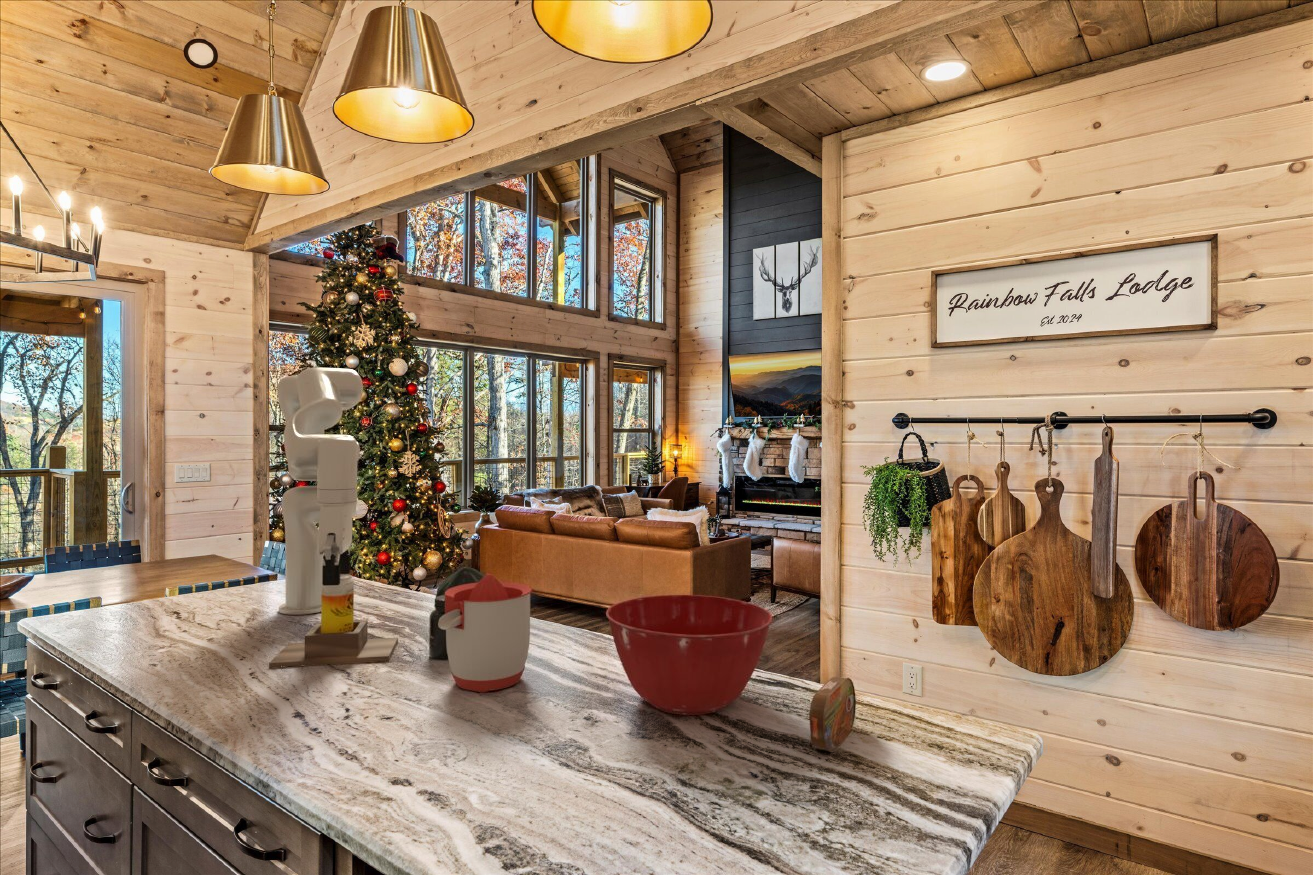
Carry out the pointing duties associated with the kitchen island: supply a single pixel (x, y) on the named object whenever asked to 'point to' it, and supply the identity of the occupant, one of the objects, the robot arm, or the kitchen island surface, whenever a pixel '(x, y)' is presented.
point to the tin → (832, 713)
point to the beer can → (338, 606)
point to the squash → (460, 579)
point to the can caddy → (336, 648)
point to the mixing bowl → (688, 649)
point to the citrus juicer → (487, 633)
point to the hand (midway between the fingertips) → (336, 579)
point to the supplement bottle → (437, 631)
